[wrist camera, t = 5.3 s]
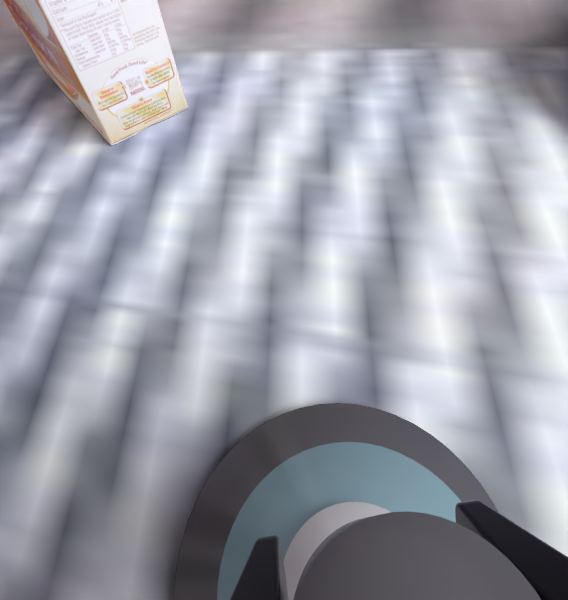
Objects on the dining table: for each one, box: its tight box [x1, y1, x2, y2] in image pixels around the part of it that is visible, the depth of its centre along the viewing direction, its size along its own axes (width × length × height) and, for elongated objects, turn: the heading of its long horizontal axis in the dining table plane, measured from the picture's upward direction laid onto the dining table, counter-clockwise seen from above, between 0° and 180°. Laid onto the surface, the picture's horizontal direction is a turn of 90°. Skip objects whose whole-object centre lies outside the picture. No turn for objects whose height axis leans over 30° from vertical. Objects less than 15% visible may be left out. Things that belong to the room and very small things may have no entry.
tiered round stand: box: [174, 403, 498, 600], centre depth 13 cm, size 13×13×6 cm
